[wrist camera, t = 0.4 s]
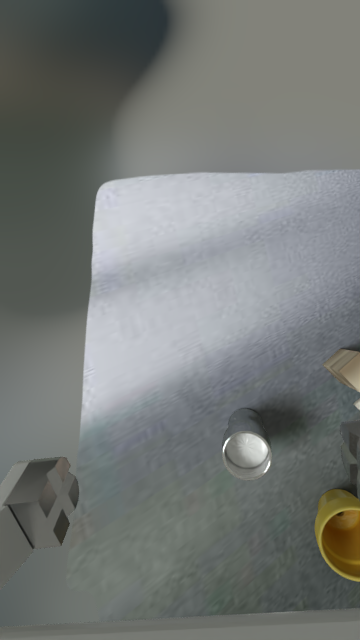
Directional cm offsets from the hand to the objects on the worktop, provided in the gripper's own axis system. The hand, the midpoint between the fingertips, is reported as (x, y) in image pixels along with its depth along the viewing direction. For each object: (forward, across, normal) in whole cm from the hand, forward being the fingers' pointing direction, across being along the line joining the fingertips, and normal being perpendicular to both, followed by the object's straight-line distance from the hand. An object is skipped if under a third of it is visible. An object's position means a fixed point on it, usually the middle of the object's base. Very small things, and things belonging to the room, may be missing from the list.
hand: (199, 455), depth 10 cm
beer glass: (+41, +2, -34) cm, 53 cm away
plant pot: (+34, +14, -48) cm, 60 cm away
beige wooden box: (+44, +19, -27) cm, 55 cm away
